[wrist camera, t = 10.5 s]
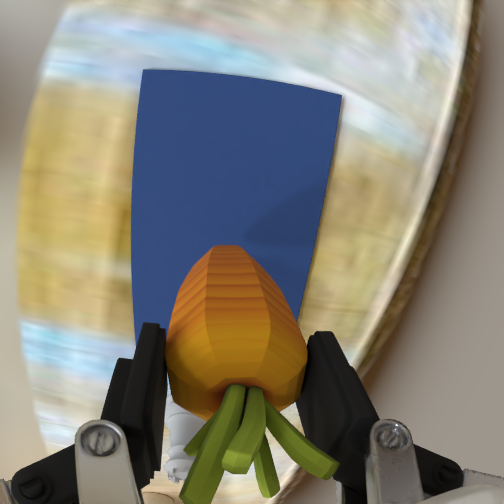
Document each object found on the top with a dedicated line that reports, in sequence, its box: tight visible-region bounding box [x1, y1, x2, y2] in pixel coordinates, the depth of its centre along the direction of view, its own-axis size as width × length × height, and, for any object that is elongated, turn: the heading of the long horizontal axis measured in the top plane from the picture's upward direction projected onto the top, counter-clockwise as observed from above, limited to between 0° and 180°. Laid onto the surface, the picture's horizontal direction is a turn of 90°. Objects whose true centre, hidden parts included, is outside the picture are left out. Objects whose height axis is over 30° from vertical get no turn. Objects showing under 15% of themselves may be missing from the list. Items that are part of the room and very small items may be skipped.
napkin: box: [131, 70, 342, 347], centre depth 21 cm, size 20×12×1 cm, turn 172°
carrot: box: [165, 245, 340, 504], centre depth 13 cm, size 5×5×15 cm
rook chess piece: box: [163, 395, 207, 484], centre depth 23 cm, size 4×4×8 cm
